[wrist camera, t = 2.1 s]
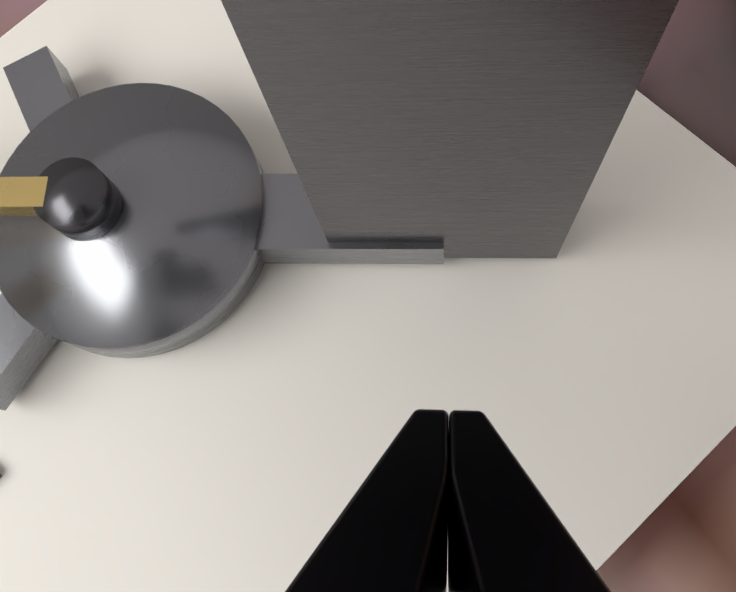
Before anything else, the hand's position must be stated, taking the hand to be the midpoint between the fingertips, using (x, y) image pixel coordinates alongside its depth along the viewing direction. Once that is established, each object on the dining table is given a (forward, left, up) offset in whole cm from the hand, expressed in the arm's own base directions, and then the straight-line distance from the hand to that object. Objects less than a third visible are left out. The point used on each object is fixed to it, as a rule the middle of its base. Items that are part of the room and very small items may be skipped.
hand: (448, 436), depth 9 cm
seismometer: (+9, +2, -6) cm, 11 cm away
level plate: (+6, +2, -7) cm, 10 cm away
